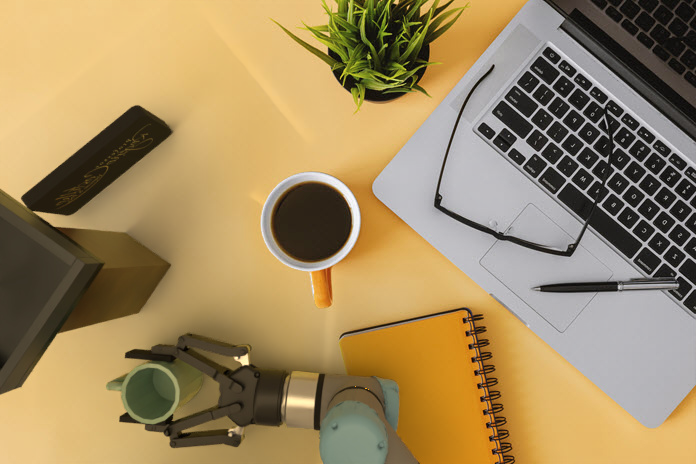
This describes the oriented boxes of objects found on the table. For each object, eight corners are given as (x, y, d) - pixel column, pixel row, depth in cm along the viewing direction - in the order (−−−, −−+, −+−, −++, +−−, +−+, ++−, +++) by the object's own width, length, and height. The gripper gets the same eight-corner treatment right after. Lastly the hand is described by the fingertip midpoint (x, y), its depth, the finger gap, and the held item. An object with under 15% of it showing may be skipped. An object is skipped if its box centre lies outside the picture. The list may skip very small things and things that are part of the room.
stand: (138, 313, 75) (15, 345, 49) (92, 280, 75) (-55, 294, 49) (171, 264, 75) (65, 270, 49) (125, 232, 75) (-5, 221, 49)
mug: (204, 352, 74) (181, 366, 65) (200, 405, 74) (176, 426, 65) (134, 346, 74) (101, 359, 65) (129, 399, 74) (96, 419, 65)
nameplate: (167, 122, 76) (136, 103, 66) (174, 132, 76) (144, 113, 66) (63, 206, 76) (17, 199, 66) (70, 216, 76) (25, 210, 66)
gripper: (285, 463, 70) (133, 448, 71) (296, 319, 71) (145, 307, 72) (275, 488, 63) (105, 471, 64) (287, 326, 64) (119, 313, 65)
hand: (127, 384), depth 68 cm, fingers closed on mug, 8 cm apart
